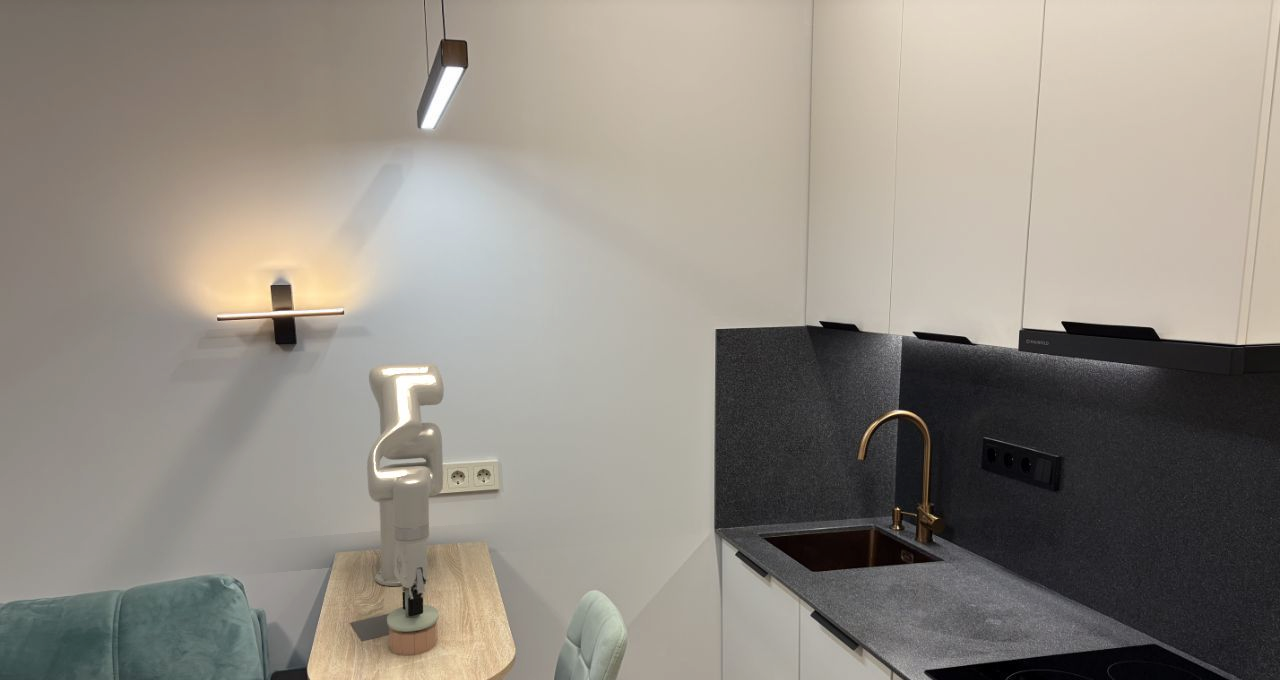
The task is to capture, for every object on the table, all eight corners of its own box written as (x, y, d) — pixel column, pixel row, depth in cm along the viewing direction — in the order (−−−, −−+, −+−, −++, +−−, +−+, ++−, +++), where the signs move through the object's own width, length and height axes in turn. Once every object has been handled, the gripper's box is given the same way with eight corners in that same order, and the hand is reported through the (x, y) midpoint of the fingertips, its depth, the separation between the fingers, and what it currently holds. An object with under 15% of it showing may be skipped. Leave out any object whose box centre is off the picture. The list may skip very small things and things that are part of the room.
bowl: (384, 642, 174) (384, 621, 174) (428, 631, 180) (428, 610, 179) (397, 661, 166) (397, 639, 166) (443, 649, 172) (442, 627, 171)
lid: (381, 616, 174) (380, 585, 173) (429, 605, 180) (428, 575, 179) (395, 636, 165) (394, 603, 164) (445, 623, 171) (444, 592, 170)
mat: (349, 624, 183) (349, 622, 183) (396, 613, 189) (396, 611, 189) (361, 643, 174) (361, 641, 174) (410, 631, 180) (410, 629, 180)
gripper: (383, 524, 175) (385, 602, 177) (405, 545, 162) (407, 630, 163) (416, 518, 180) (418, 594, 181) (440, 539, 166) (441, 621, 168)
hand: (412, 610), depth 172 cm, fingers closed on lid, 3 cm apart
